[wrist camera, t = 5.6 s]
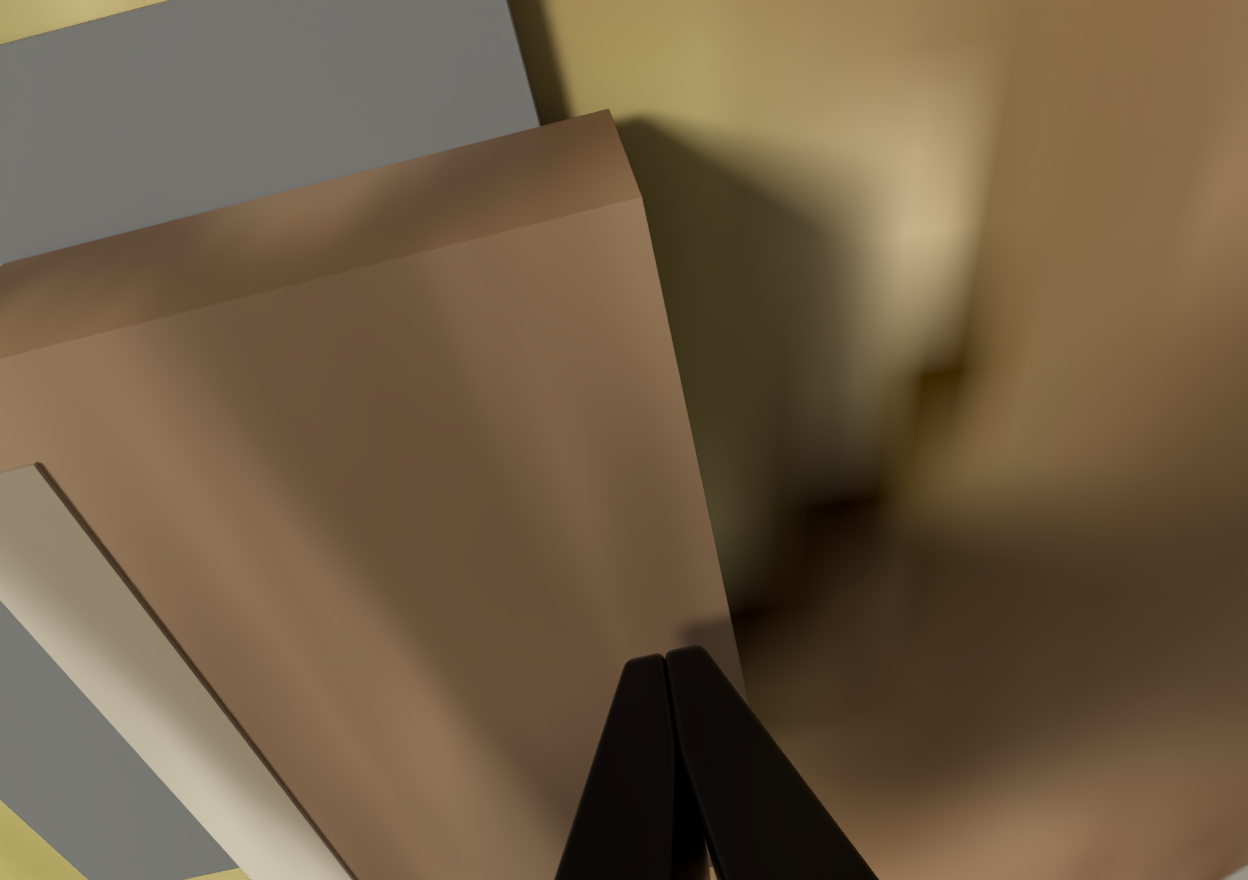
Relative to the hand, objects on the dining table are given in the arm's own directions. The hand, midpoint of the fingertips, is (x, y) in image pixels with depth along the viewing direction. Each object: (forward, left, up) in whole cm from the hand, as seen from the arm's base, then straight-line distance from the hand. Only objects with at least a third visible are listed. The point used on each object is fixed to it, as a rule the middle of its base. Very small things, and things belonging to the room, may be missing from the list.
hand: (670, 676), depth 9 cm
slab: (-1, 0, -2) cm, 2 cm away
